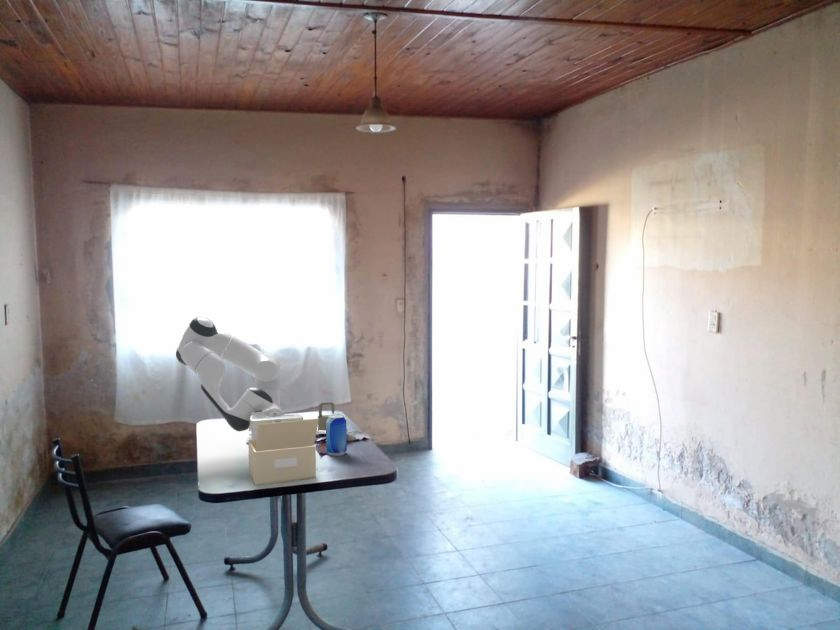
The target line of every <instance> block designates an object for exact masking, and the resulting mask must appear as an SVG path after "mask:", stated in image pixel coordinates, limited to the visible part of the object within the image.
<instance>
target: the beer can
mask: <svg viewBox="0 0 840 630" xmlns="http://www.w3.org/2000/svg"><path fill="white" fill-rule="evenodd" d="M328 415H329V416H328V419H327V421H326V434H325V435H326V436H325V438H326V439H325V441H326V452H327V454H328V455H329V456H331V457H338V456H344V455H346V452H347V450H348V447H347V446H348V444H347V440H348V438H347V435H348V433H347V432H348V431H347V430H348V428H347V426H348V425H347V419H346V418H345V414H339V413H337V414H336V413H334V414H333V413H332V414H328Z"/></svg>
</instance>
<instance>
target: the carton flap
mask: <svg viewBox="0 0 840 630" xmlns="http://www.w3.org/2000/svg"><path fill="white" fill-rule="evenodd" d="M318 421H319V419H318V418H312V419H311V418H310V419H309V418H307V419H303V420H296V421H284V422H272V423H260V424H258V431H257V441H256V451H260V450H270V449H280V448H291V447H301V446H311V445H315V442H316V437H317V433H318Z"/></svg>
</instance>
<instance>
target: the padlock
mask: <svg viewBox="0 0 840 630" xmlns="http://www.w3.org/2000/svg"><path fill="white" fill-rule="evenodd" d="M323 406H331V414H332V415H333V414H335V411H336V410H335V409H336V407H335V402H332V401H322V402H319V404H318V416H317V419H319V421H318V426H317V432H318V431H319V430H326V421H327V419H328V416H329V415H330V414H328V415H327V414H326V415H325V414H324V415H323Z"/></svg>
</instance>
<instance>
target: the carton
mask: <svg viewBox="0 0 840 630" xmlns="http://www.w3.org/2000/svg"><path fill="white" fill-rule="evenodd" d="M256 441H257V439H255V440H249V444H248V471H249V474H250V476H251V478H252V480H253V481H252V482H253V483H255V484H254V486H257V485H256V484H261V485H267V483H270V484H276V483H277V484H279V483H284V482H285V483H286V482H294V481H301V480H302V481H303V480H311V479H317V466H316V465H317V463H316V462H317V460H316V458H317V455H316V449H317V447H316V445H315V444H314V445H311V446H301V447H291V448H280V449H270V450H260V451H256Z"/></svg>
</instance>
